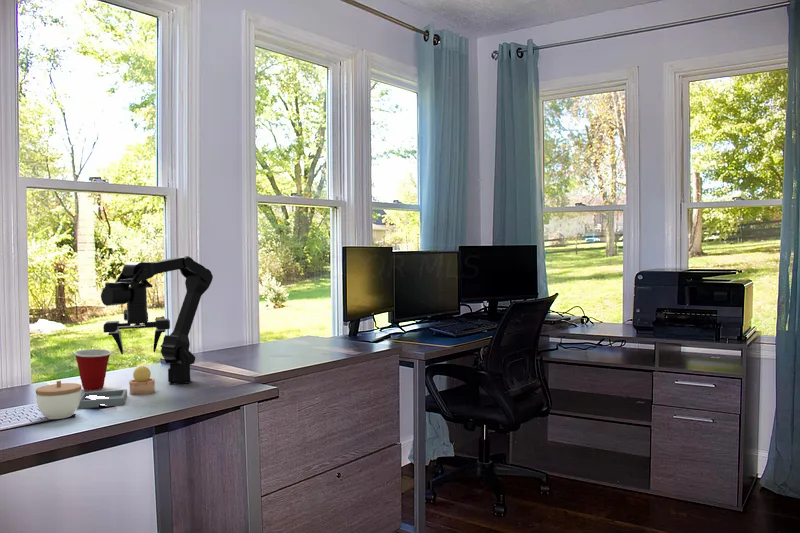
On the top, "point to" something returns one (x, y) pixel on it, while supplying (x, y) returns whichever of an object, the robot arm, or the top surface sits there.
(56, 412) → the lidded jar
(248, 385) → the top surface
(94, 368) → the plastic cup
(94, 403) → the tray
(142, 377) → the ball
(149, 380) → the bowl
